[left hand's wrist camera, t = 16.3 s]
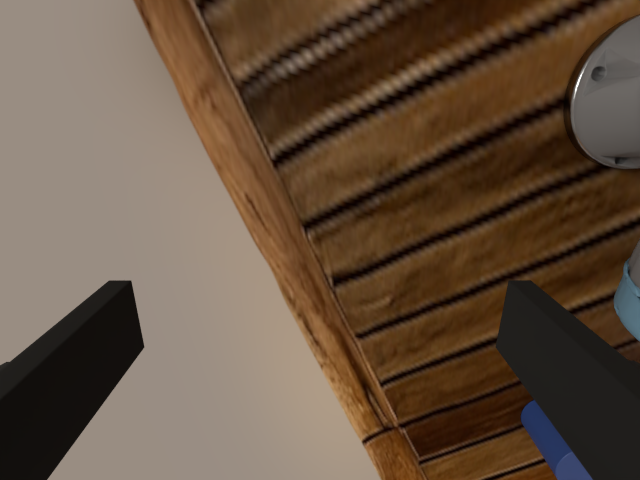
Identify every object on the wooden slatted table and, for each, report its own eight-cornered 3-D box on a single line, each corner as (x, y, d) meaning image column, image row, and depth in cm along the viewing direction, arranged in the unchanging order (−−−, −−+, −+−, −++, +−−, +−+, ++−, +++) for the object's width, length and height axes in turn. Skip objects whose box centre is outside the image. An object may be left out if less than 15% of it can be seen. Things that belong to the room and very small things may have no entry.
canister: (545, 438, 55) (584, 494, 47) (510, 420, 54) (543, 475, 46) (578, 407, 53) (624, 461, 45) (543, 388, 52) (583, 439, 44)
